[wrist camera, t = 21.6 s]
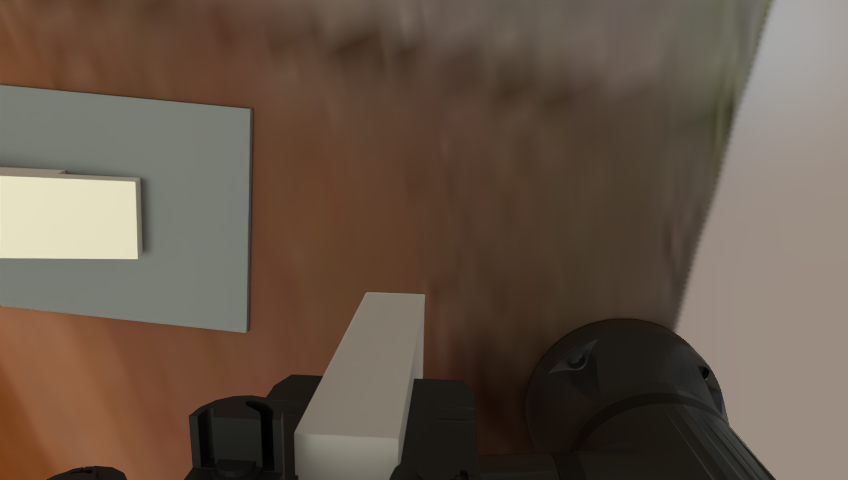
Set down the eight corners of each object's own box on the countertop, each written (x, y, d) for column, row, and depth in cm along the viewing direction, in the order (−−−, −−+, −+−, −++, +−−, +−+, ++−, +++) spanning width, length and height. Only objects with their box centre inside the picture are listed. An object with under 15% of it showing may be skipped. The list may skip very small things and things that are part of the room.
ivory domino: (137, 259, 43) (-67, 257, 40) (142, 251, 45) (-53, 249, 41) (135, 181, 42) (-78, 172, 38) (140, 177, 44) (-62, 168, 40)
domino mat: (248, 329, 47) (246, 332, 46) (-189, 282, 48) (-197, 284, 48) (253, 108, 43) (250, 109, 42) (-228, 62, 44) (-237, 62, 43)
